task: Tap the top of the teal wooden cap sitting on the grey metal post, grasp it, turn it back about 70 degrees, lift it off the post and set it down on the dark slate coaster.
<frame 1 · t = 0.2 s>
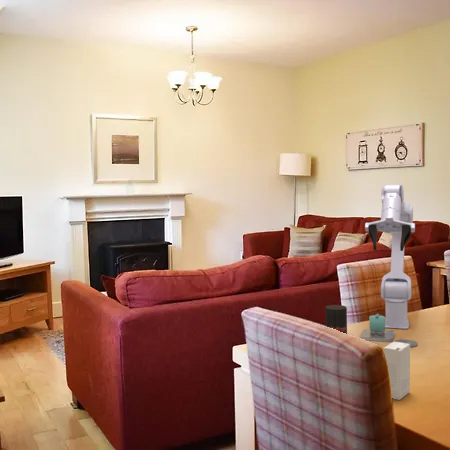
hand: (388, 248, 162), 31 cm above the table, tool tilted 45°, fingers open, 7 cm apart
cap: (377, 329, 178), point 2 cm above the table, touching post plinth
skincare box: (397, 395, 130), on the table
deodorant: (336, 359, 158), on the table
post plinth: (377, 336, 178), on the table
coaster: (405, 344, 169), on the table
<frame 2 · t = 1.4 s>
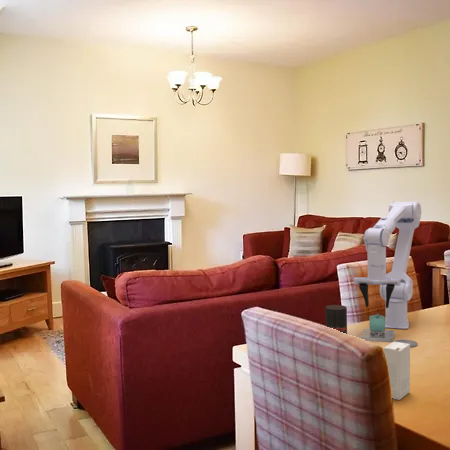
hand: (377, 306, 177), 10 cm above the table, tool pointing down, fingers open, 6 cm apart
nothing on the table moved.
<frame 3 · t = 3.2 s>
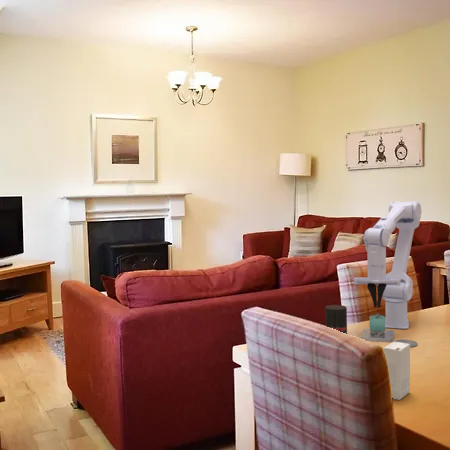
hand: (377, 306, 177), 10 cm above the table, tool pointing down, fingers closed
nothing on the table moved.
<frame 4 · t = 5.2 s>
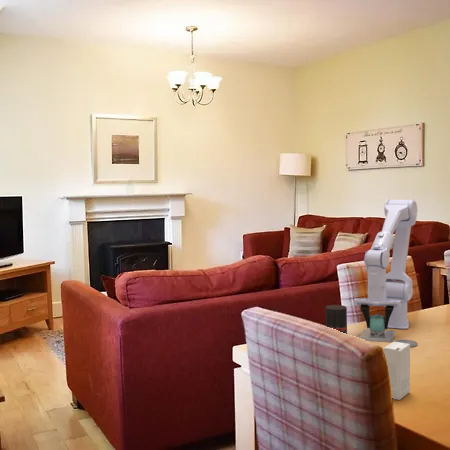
hand: (377, 327, 178), 3 cm above the table, tool pointing down, fingers closed on cap, 5 cm apart
cap: (377, 329, 178), point 2 cm above the table, touching gripper, post plinth
everything else where it was.
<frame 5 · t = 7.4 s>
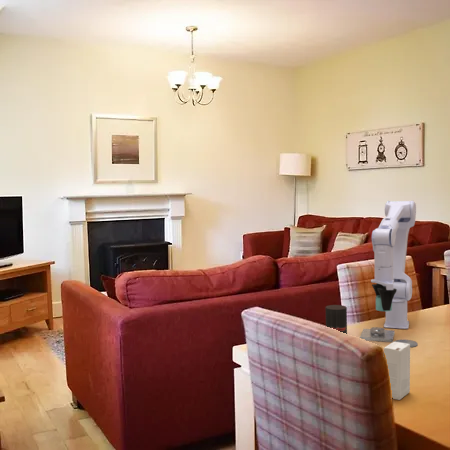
hand: (384, 308, 175), 10 cm above the table, tool pointing down, fingers closed on cap, 5 cm apart
cap: (383, 309, 175), point 9 cm above the table, touching gripper
everything else where it was.
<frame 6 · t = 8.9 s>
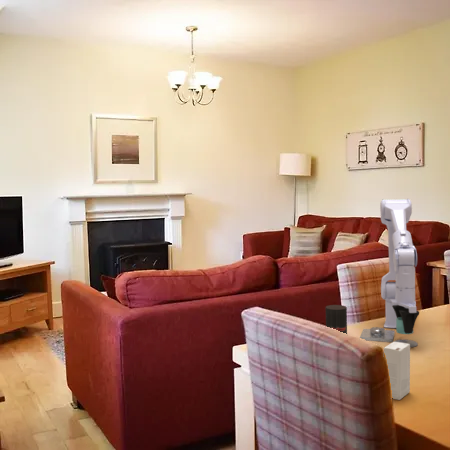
hand: (405, 330, 169), 4 cm above the table, tool pointing down, fingers closed on cap, 5 cm apart
cap: (404, 332, 169), point 4 cm above the table, touching gripper
everything else where it was.
when the fingers open (2 cm above the table, at t = 9.9 s): cap stays where it is, resting on coaster.
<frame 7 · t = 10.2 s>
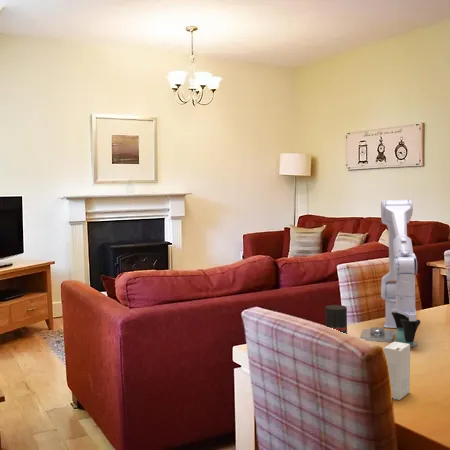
hand: (405, 338, 169), 2 cm above the table, tool pointing down, fingers open, 7 cm apart
cap: (404, 342, 169), resting on coaster
everything else where it was.
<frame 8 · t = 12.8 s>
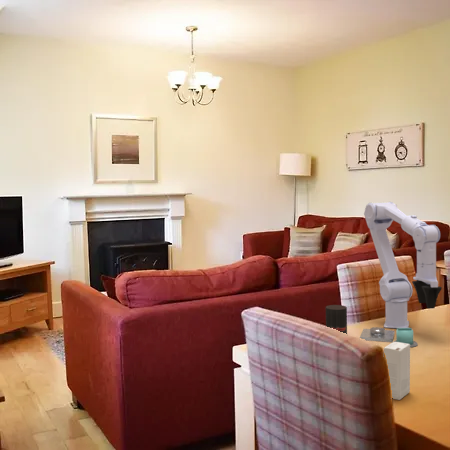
hand: (426, 305, 175), 10 cm above the table, tool pointing down, fingers open, 7 cm apart
nothing on the table moved.
at the end: cap 0.2 cm off-centre on the coaster, point 0.4 cm above the coaster's base; cap tilted 0°; the gripper is holding nothing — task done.
